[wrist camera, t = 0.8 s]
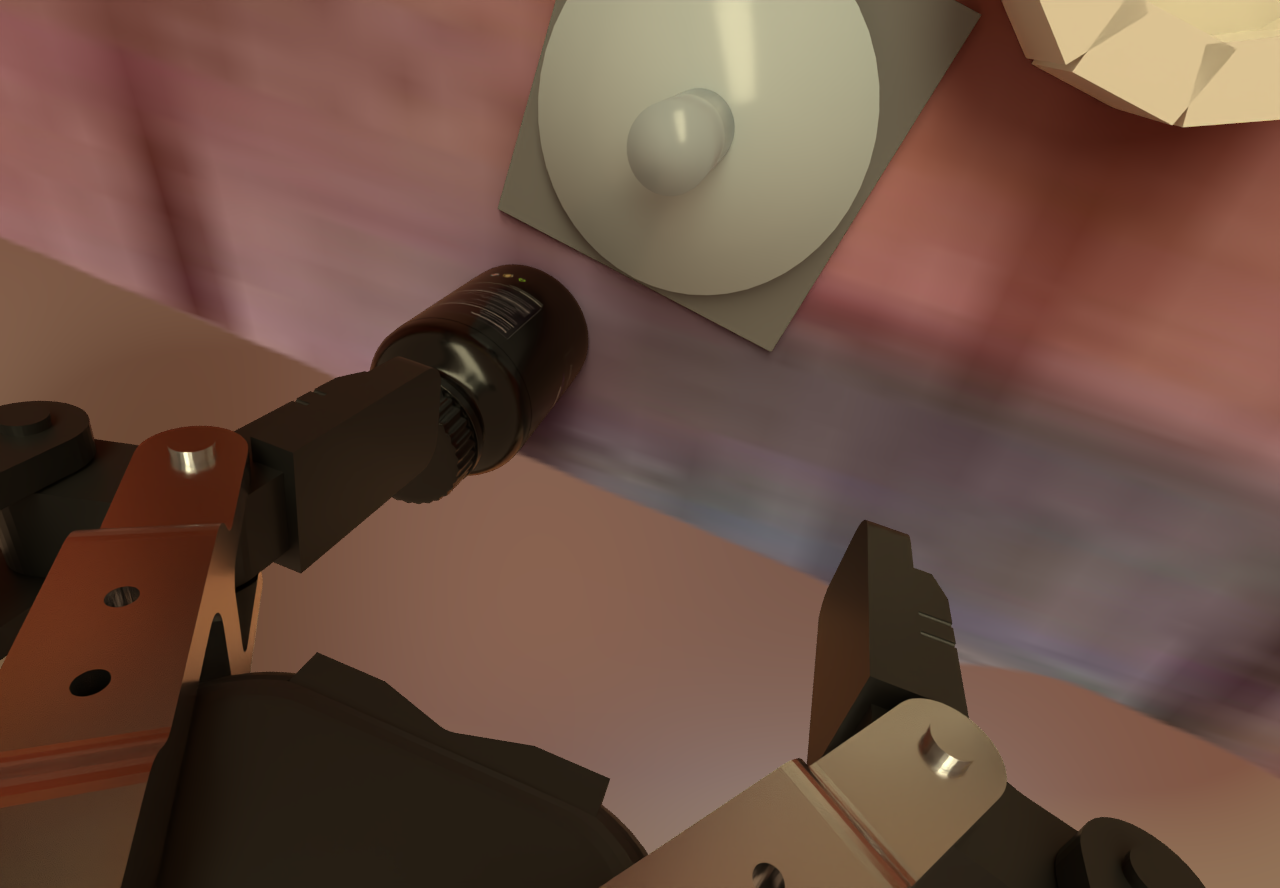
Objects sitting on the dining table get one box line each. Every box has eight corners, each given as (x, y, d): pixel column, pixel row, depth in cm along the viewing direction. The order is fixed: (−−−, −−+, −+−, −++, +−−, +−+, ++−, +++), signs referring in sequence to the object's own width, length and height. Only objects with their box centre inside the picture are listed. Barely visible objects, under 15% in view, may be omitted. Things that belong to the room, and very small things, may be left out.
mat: (501, 206, 30) (497, 208, 30) (611, -183, 22) (607, -186, 22) (771, 348, 30) (771, 352, 30) (979, 14, 22) (981, 14, 22)
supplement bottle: (591, 399, 34) (489, 547, 24) (470, 375, 35) (328, 507, 26) (596, 270, 30) (478, 385, 21) (461, 248, 32) (289, 347, 22)
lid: (510, 203, 29) (444, 239, 25) (615, -160, 22) (549, -213, 17) (767, 337, 30) (751, 399, 25) (958, 23, 22) (989, 23, 17)
